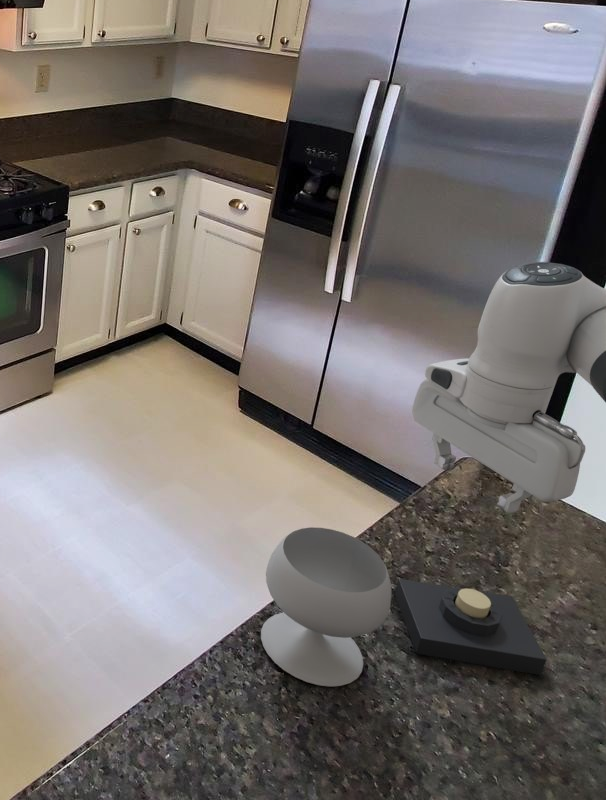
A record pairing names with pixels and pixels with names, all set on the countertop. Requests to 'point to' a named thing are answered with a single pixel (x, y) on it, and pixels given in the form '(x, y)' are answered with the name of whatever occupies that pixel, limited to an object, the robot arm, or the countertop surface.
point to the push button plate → (468, 628)
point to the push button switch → (473, 603)
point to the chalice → (324, 604)
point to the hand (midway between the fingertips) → (473, 487)
